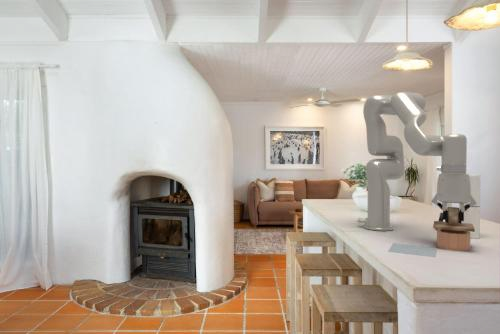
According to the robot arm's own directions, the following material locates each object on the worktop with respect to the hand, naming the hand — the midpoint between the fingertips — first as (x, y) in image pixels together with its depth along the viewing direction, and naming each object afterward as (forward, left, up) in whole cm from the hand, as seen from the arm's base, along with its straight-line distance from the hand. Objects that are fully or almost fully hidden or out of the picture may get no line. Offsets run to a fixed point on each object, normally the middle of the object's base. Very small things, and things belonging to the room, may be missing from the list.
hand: (453, 222), depth 122 cm
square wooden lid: (0, 0, -2) cm, 2 cm away
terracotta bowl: (0, 0, -9) cm, 9 cm away
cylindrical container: (+6, +26, -9) cm, 28 cm away
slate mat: (-12, -11, -9) cm, 19 cm away
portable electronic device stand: (-1, +36, -10) cm, 37 cm away
